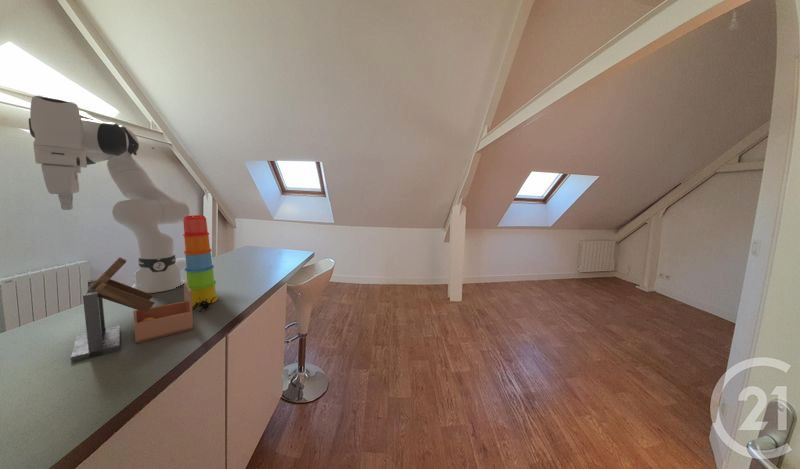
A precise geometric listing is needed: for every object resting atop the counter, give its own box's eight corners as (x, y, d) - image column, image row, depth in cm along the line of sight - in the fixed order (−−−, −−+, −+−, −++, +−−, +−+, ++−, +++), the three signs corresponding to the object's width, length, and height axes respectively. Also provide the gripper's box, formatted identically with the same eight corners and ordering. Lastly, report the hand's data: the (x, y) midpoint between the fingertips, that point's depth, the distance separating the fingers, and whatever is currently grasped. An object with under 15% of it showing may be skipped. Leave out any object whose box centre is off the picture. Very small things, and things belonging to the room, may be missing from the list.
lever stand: (78, 338, 77) (71, 282, 75) (120, 329, 83) (115, 277, 81) (71, 362, 67) (63, 298, 65) (119, 350, 73) (114, 291, 71)
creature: (184, 314, 98) (198, 314, 95) (181, 300, 97) (195, 300, 94) (205, 307, 105) (219, 306, 102) (203, 293, 105) (217, 292, 102)
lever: (87, 286, 75) (119, 254, 79) (142, 305, 84) (168, 275, 88) (83, 297, 68) (119, 261, 72) (144, 317, 77) (172, 284, 81)
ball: (154, 313, 84) (158, 324, 85) (136, 319, 81) (141, 330, 83) (155, 317, 81) (159, 329, 83) (137, 324, 79) (142, 335, 80)
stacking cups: (218, 303, 106) (215, 217, 101) (185, 308, 100) (180, 216, 95) (217, 295, 114) (215, 214, 109) (187, 299, 108) (183, 214, 103)
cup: (134, 328, 84) (131, 289, 82) (187, 317, 94) (185, 281, 92) (135, 343, 76) (132, 300, 75) (193, 329, 86) (191, 291, 84)
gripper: (50, 159, 78) (55, 206, 80) (34, 155, 64) (41, 212, 66) (83, 162, 83) (87, 207, 85) (75, 159, 69) (80, 212, 71)
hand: (67, 209), depth 75 cm, fingers closed
